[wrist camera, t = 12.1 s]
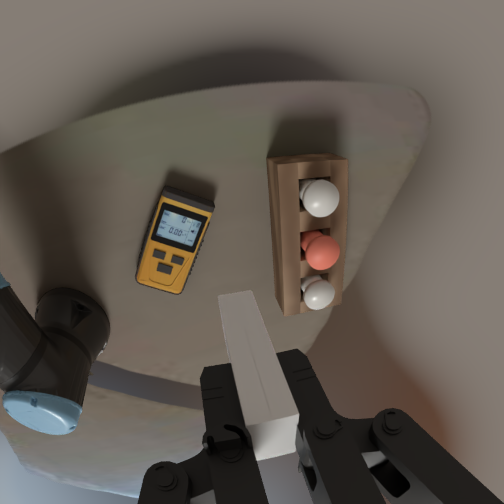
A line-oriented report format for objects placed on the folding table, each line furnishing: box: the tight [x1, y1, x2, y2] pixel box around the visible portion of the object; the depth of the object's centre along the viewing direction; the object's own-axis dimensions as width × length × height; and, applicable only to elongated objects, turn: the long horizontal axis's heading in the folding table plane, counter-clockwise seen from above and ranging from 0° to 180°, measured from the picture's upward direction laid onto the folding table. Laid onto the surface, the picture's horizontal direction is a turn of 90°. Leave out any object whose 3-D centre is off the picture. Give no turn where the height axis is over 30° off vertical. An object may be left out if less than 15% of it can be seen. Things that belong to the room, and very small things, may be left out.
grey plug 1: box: [298, 178, 339, 217], centre depth 40 cm, size 5×5×8 cm
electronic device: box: [135, 186, 215, 295], centre depth 44 cm, size 8×16×3 cm, turn 155°
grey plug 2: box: [301, 275, 335, 310], centre depth 47 cm, size 5×5×8 cm
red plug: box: [300, 229, 340, 270], centre depth 43 cm, size 5×5×8 cm
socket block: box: [266, 153, 348, 317], centre depth 45 cm, size 10×24×6 cm, turn 4°
